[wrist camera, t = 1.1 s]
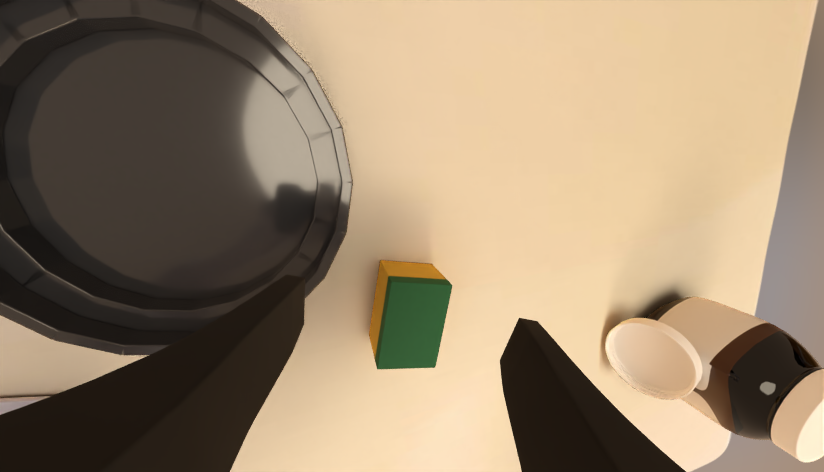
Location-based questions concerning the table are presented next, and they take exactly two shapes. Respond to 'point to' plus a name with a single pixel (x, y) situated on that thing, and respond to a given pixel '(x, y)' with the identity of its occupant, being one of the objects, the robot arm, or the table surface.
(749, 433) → the spread jar
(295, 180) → the bowl
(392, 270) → the sponge
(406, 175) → the table surface
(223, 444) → the robot arm
